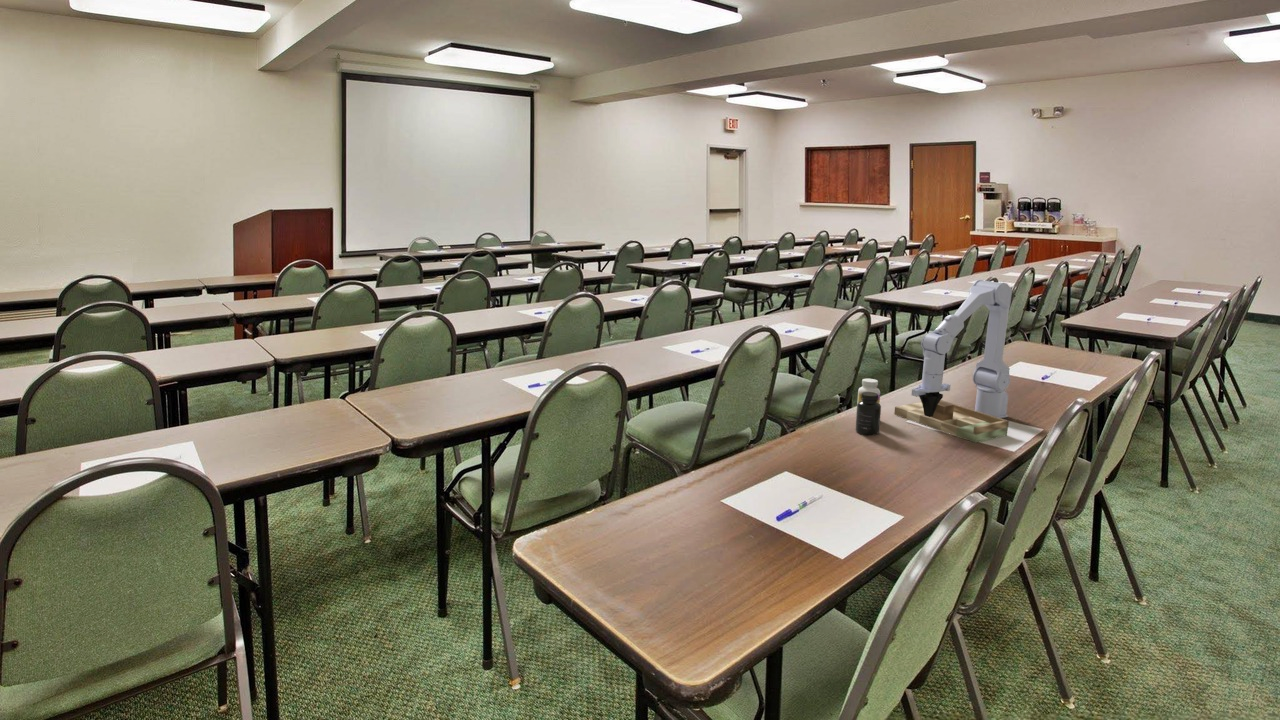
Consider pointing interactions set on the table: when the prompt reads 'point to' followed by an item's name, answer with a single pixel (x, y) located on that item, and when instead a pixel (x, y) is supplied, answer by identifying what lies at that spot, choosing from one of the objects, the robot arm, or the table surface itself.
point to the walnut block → (943, 411)
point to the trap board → (958, 422)
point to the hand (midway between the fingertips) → (928, 415)
